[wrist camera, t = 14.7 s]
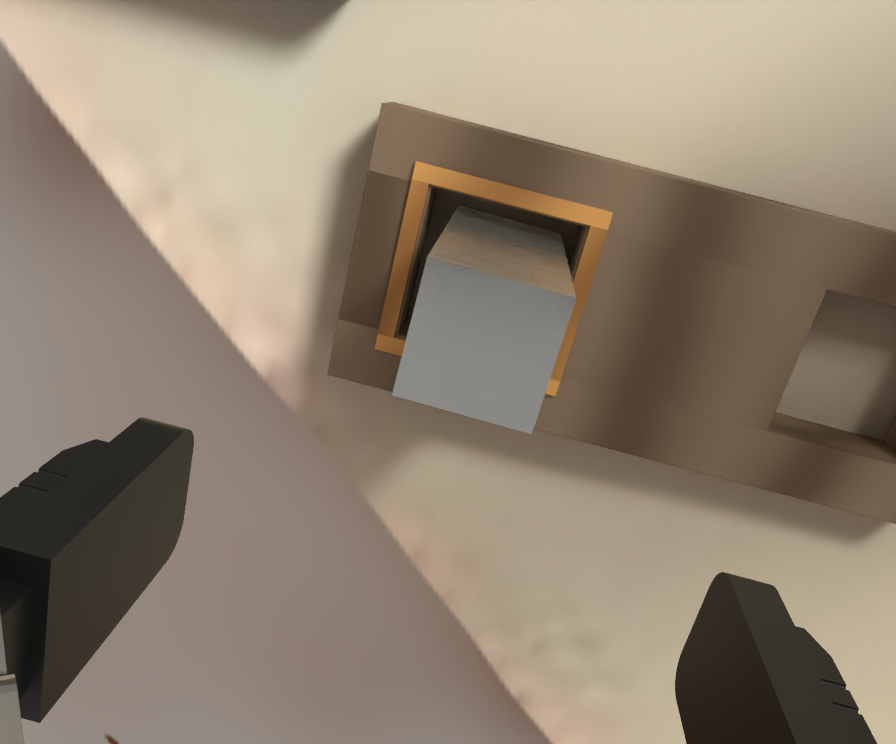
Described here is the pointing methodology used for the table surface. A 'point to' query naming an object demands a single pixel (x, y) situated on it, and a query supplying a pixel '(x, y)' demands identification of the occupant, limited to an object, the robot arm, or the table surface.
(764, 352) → the hole board
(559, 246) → the steel peg
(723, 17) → the table surface
